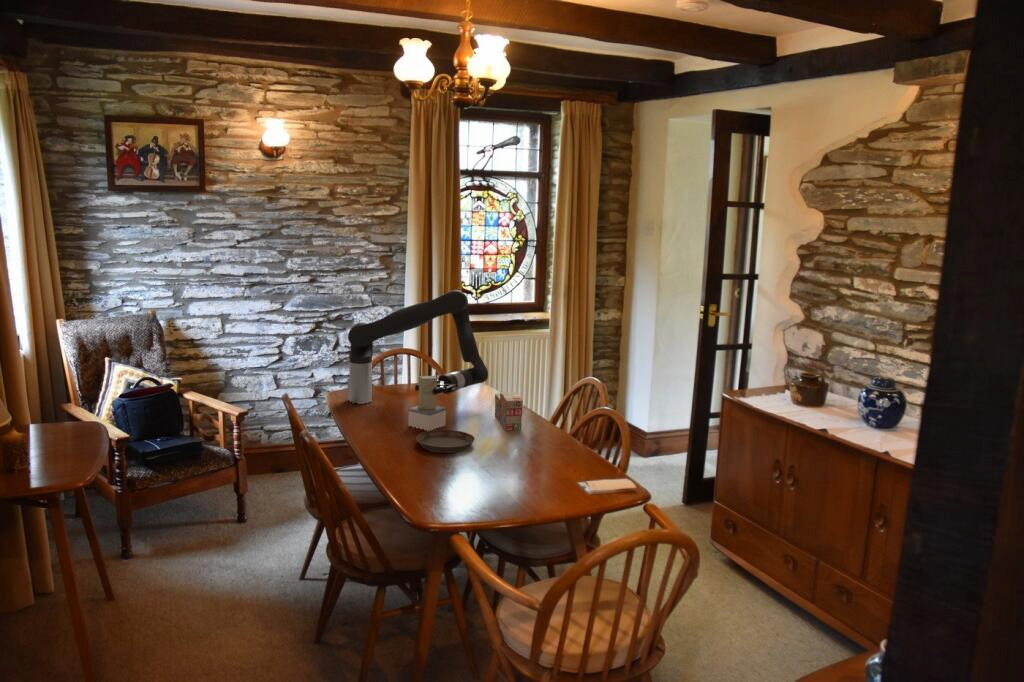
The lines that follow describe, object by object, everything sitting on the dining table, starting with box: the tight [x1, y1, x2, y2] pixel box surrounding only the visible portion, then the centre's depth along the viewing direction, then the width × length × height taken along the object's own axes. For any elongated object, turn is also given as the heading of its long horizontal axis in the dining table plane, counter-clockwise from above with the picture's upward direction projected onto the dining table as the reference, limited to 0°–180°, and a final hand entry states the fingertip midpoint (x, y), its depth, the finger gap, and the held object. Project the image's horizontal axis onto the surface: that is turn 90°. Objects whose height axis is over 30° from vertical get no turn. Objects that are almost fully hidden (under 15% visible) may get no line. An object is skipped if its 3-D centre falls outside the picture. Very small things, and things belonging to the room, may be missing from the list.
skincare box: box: [417, 375, 438, 410], centre depth 295 cm, size 6×4×12 cm
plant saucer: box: [415, 429, 476, 454], centre depth 275 cm, size 21×21×3 cm
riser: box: [408, 405, 447, 432], centre depth 297 cm, size 10×10×7 cm
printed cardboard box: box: [494, 391, 524, 432], centre depth 305 cm, size 21×6×12 cm, turn 13°
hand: (424, 389), depth 293 cm, fingers open, 8 cm apart
